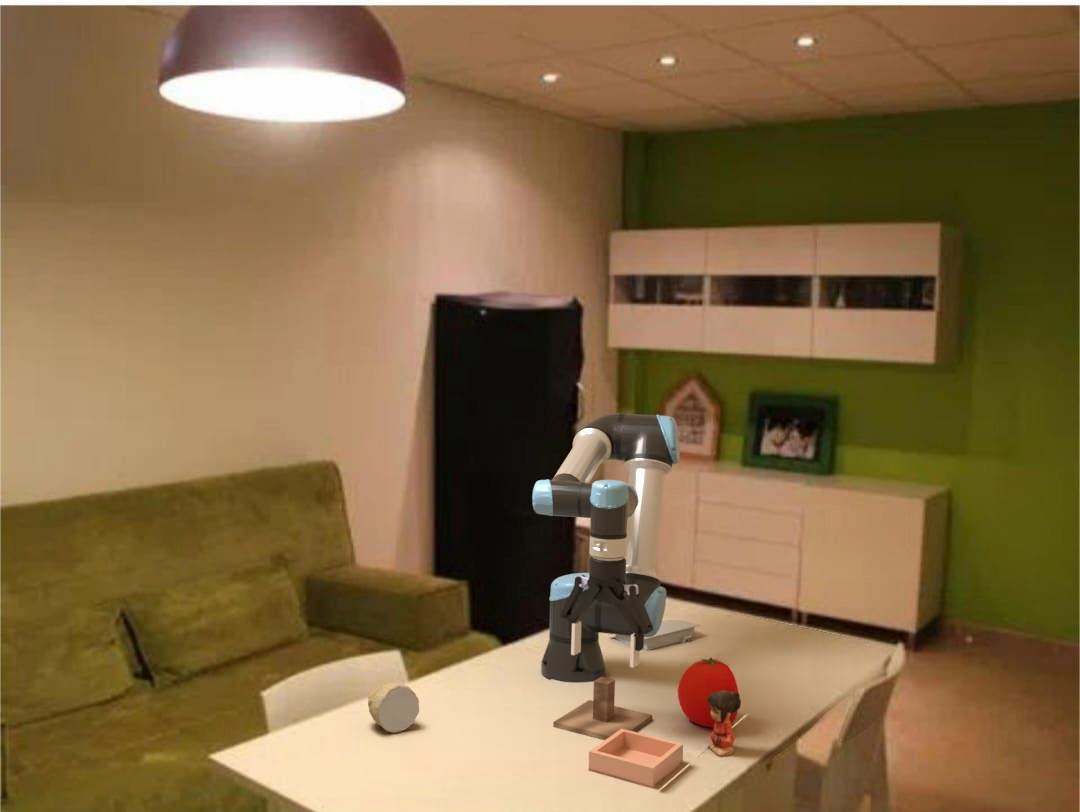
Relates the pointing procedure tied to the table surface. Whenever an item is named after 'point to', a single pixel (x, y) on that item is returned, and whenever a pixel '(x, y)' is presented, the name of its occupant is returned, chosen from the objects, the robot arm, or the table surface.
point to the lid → (602, 714)
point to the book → (665, 634)
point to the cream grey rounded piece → (393, 706)
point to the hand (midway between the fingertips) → (604, 659)
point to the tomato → (704, 689)
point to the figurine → (723, 721)
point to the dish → (636, 758)
